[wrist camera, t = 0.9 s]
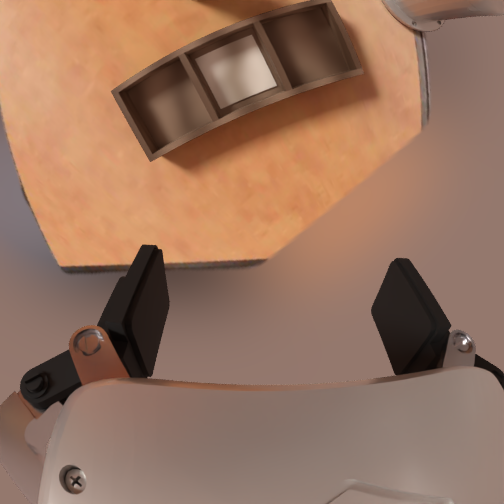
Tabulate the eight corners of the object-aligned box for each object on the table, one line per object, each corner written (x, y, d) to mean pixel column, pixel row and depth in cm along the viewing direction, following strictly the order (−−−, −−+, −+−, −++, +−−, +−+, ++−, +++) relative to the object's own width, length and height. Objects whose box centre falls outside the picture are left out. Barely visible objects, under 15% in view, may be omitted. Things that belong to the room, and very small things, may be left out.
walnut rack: (321, 3, 26) (329, -4, 22) (353, 73, 32) (364, 73, 28) (122, 89, 32) (110, 91, 29) (158, 154, 38) (150, 162, 35)
